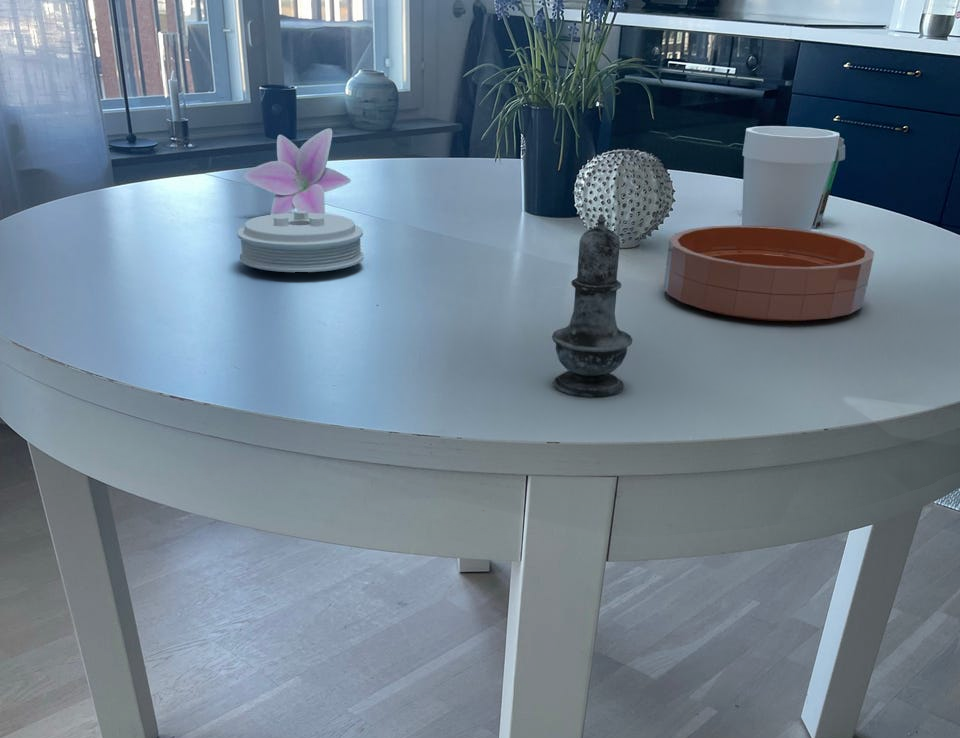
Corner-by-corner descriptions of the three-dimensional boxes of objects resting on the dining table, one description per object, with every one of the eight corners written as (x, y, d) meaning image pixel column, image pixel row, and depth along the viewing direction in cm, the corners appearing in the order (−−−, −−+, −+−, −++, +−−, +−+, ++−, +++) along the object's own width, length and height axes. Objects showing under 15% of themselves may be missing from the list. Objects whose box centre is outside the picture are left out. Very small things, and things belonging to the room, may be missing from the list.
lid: (215, 272, 103) (209, 219, 100) (287, 248, 112) (283, 200, 110) (321, 288, 98) (317, 233, 95) (386, 262, 108) (385, 211, 105)
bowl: (865, 287, 103) (877, 235, 100) (856, 336, 88) (869, 277, 85) (683, 269, 108) (689, 219, 105) (646, 312, 93) (652, 255, 90)
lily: (240, 224, 128) (226, 157, 120) (302, 175, 133) (293, 107, 124) (311, 267, 125) (302, 201, 116) (373, 216, 130) (368, 149, 121)
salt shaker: (615, 371, 79) (630, 205, 72) (637, 396, 74) (656, 222, 67) (541, 373, 78) (550, 206, 71) (559, 399, 73) (570, 223, 67)
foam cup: (760, 276, 106) (783, 138, 99) (709, 257, 113) (727, 127, 106) (832, 269, 109) (859, 136, 102) (778, 251, 116) (800, 125, 109)
